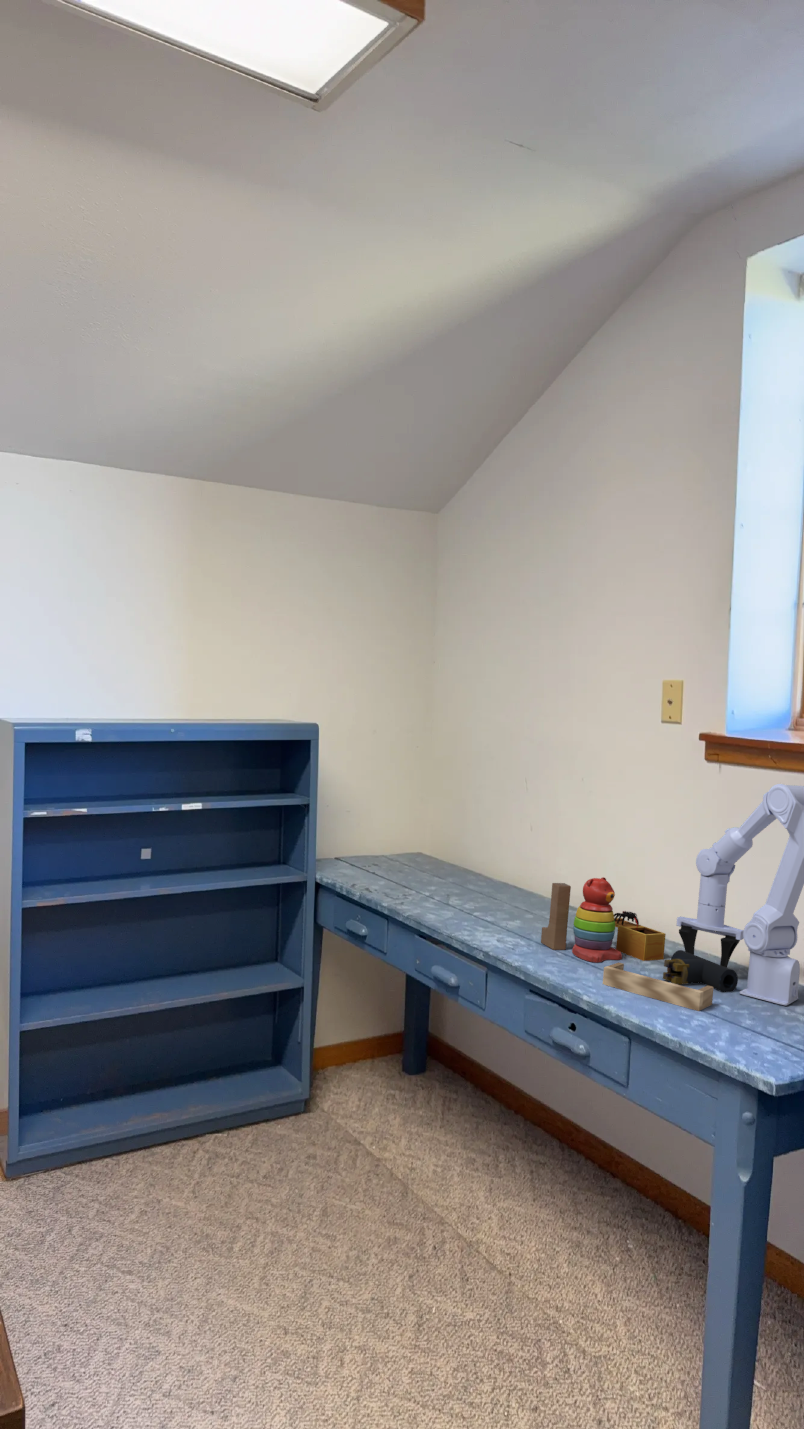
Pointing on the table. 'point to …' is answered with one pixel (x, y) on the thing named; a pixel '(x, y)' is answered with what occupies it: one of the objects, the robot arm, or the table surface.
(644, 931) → the spider toy trap
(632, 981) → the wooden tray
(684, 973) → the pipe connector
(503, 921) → the table surface
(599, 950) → the stacking bear
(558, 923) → the wooden block
